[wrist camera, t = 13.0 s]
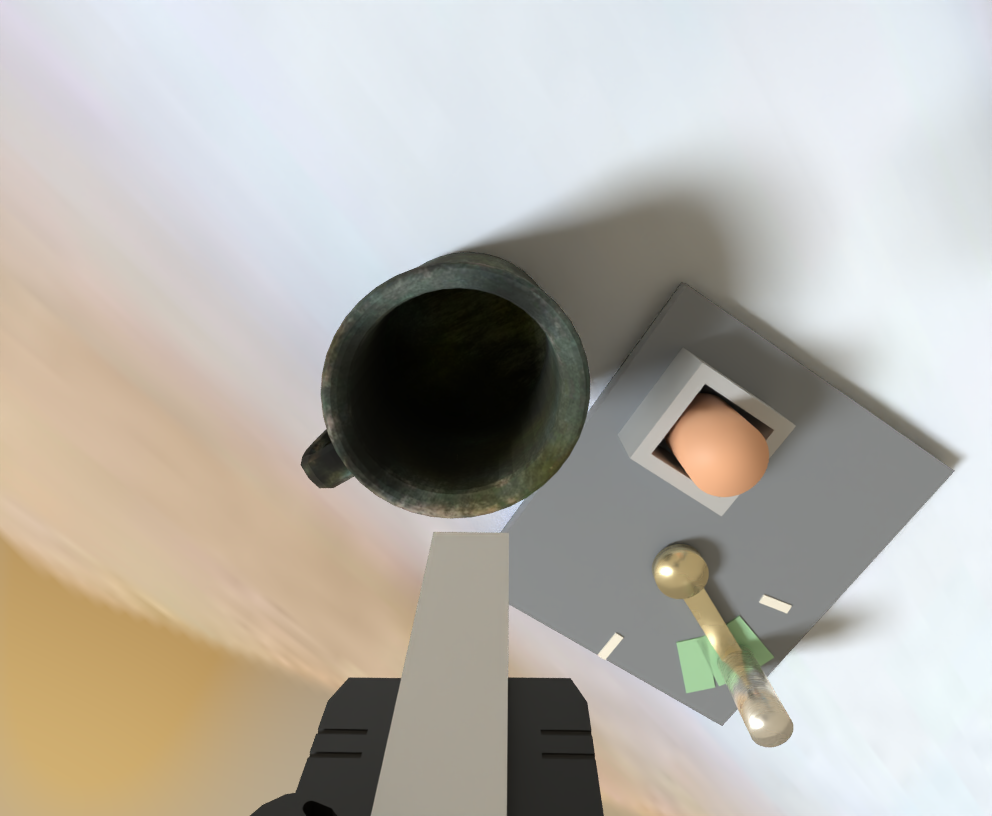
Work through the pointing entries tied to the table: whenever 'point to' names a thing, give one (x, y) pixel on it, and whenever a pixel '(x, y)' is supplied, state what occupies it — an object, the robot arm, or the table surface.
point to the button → (718, 447)
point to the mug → (451, 390)
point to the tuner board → (711, 508)
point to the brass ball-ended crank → (724, 645)
